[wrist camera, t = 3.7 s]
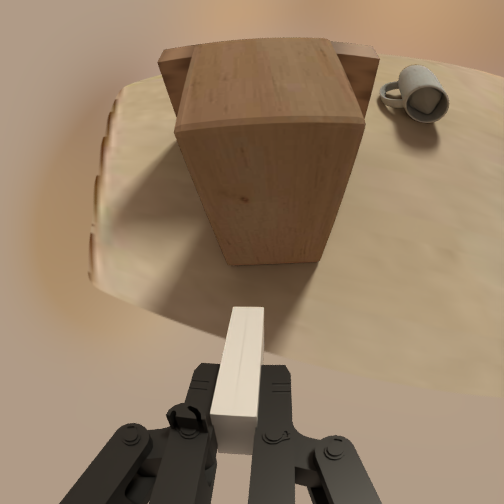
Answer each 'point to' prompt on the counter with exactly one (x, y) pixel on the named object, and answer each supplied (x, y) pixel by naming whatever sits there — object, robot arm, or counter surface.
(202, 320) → the counter surface
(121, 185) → the counter surface
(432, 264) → the counter surface
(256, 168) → the wooden block
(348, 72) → the walnut board
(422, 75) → the ceramic mug
